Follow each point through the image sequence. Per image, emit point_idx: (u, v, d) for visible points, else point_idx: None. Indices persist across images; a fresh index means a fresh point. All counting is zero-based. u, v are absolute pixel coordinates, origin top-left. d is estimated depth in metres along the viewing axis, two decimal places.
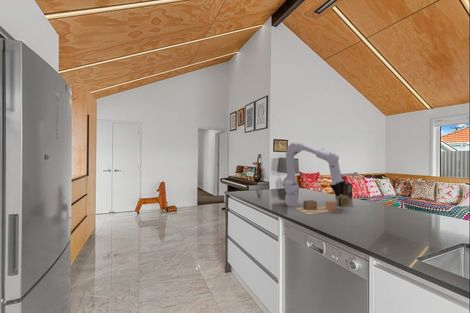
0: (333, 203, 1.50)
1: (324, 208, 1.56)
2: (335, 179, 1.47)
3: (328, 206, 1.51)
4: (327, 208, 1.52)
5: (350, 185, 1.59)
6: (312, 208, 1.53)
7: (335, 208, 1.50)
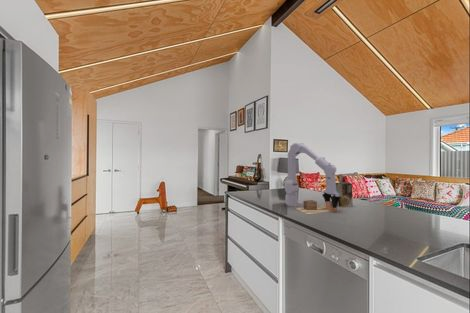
0: None
1: (324, 208, 1.56)
2: (333, 191, 1.49)
3: (328, 206, 1.51)
4: (327, 208, 1.52)
5: (350, 185, 1.59)
6: (312, 208, 1.53)
7: (335, 208, 1.50)
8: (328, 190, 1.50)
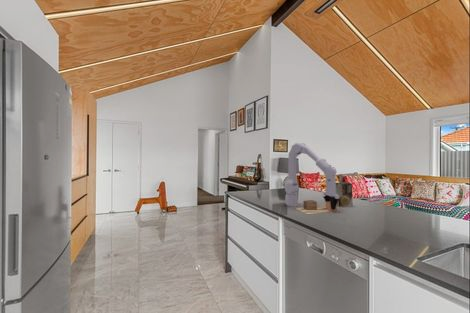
0: None
1: (324, 208, 1.56)
2: (333, 193, 1.49)
3: (328, 206, 1.51)
4: (327, 208, 1.52)
5: (350, 185, 1.59)
6: (312, 208, 1.53)
7: None
8: (328, 192, 1.50)
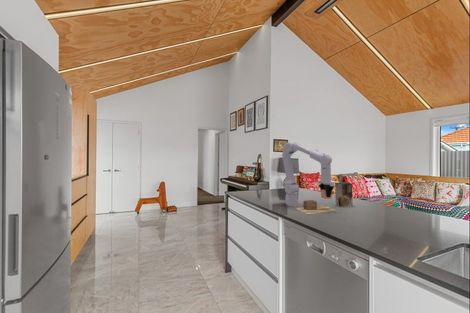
0: None
1: (324, 208, 1.56)
2: (328, 181, 1.50)
3: (323, 194, 1.52)
4: (322, 196, 1.53)
5: (350, 185, 1.59)
6: (312, 208, 1.53)
7: None
8: (323, 180, 1.51)
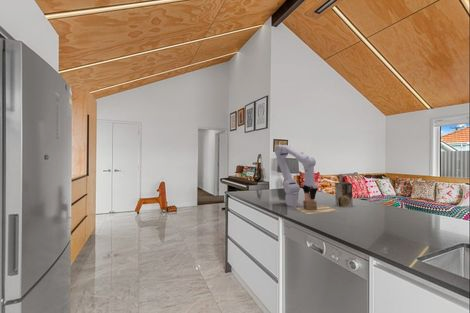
0: None
1: (324, 208, 1.56)
2: (311, 183, 1.53)
3: (306, 197, 1.55)
4: (305, 199, 1.56)
5: (350, 185, 1.59)
6: (312, 208, 1.53)
7: (313, 199, 1.54)
8: (306, 182, 1.54)
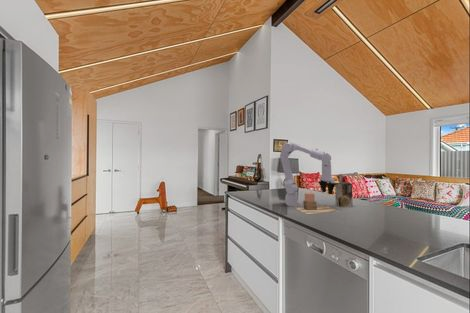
0: (311, 194, 1.54)
1: (324, 208, 1.56)
2: (329, 178, 1.55)
3: (306, 197, 1.55)
4: (305, 199, 1.56)
5: (350, 185, 1.59)
6: (312, 208, 1.53)
7: (313, 199, 1.54)
8: (324, 177, 1.56)
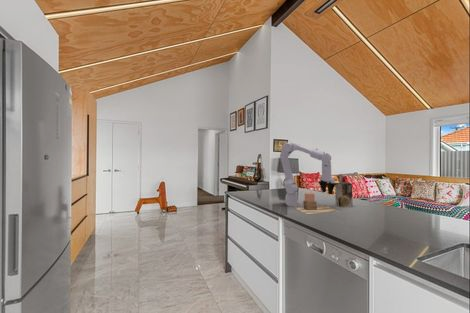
0: (311, 194, 1.54)
1: (324, 208, 1.56)
2: (329, 178, 1.55)
3: (306, 197, 1.55)
4: (305, 199, 1.56)
5: (350, 185, 1.59)
6: (312, 208, 1.53)
7: (313, 199, 1.54)
8: (324, 177, 1.56)
